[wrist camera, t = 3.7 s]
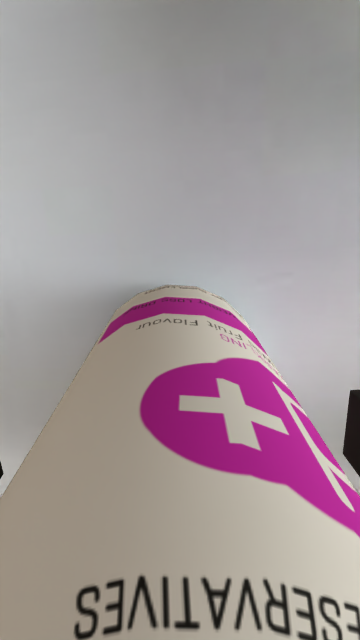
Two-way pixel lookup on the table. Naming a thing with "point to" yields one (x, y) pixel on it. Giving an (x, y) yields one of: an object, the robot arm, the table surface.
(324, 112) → the table surface
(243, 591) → the supplement can
